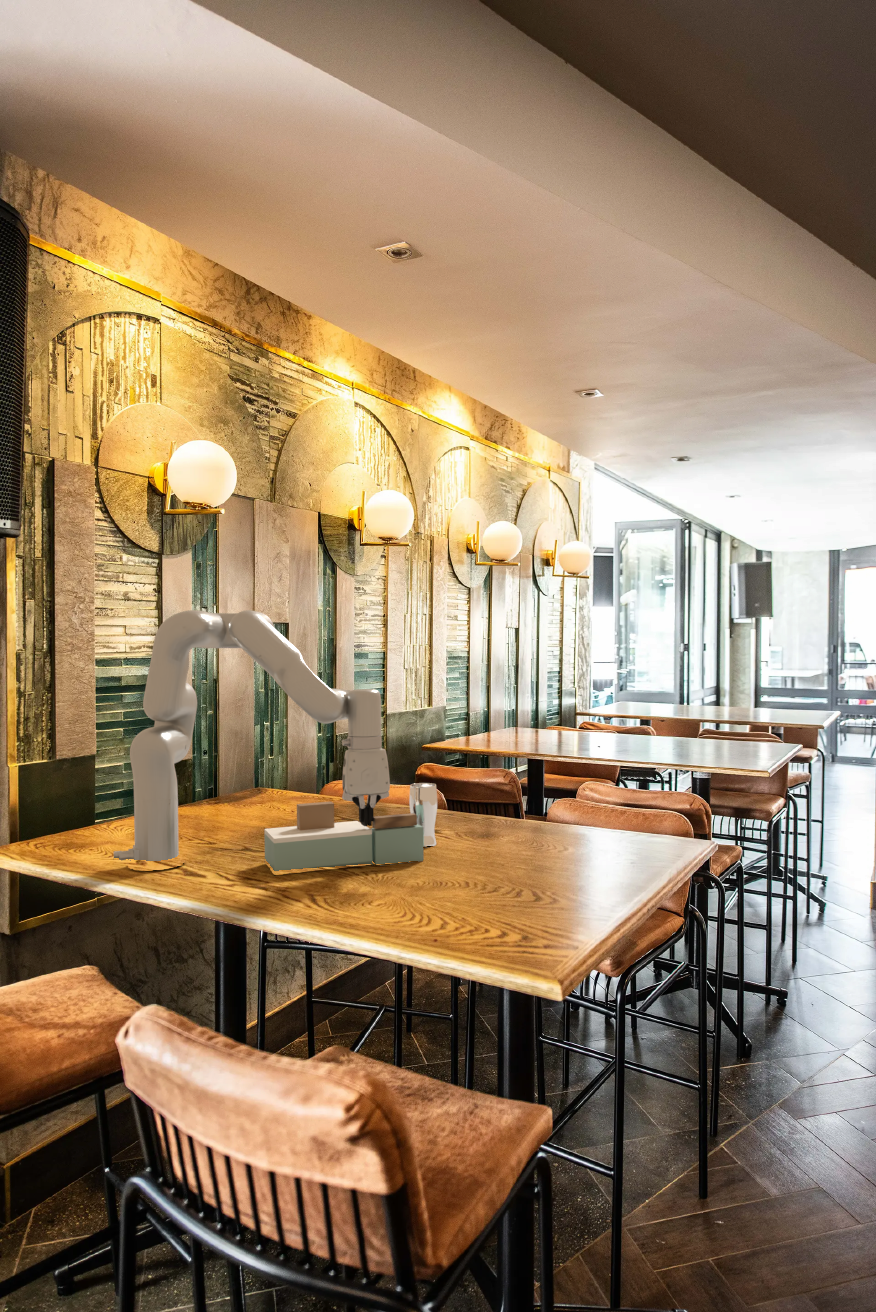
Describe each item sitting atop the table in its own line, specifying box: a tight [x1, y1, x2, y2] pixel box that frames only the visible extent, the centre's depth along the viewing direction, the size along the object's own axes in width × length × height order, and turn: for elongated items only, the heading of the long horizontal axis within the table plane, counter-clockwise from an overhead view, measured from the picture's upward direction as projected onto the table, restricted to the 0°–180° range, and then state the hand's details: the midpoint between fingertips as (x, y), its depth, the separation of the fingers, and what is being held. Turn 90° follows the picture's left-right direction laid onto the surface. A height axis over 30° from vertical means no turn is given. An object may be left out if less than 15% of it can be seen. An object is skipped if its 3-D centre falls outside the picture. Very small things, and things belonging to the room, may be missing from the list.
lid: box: [263, 801, 372, 843], centre depth 191 cm, size 22×12×8 cm, turn 111°
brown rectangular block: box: [372, 813, 417, 829], centre depth 193 cm, size 10×2×2 cm, turn 111°
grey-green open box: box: [264, 824, 425, 871], centre depth 193 cm, size 34×13×8 cm, turn 111°
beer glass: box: [409, 782, 438, 848], centre depth 210 cm, size 7×7×15 cm
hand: (366, 824), depth 190 cm, fingers closed
